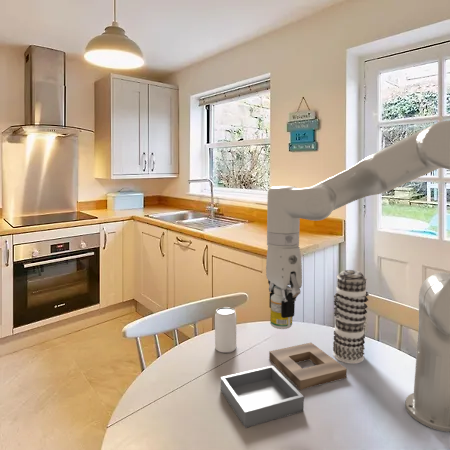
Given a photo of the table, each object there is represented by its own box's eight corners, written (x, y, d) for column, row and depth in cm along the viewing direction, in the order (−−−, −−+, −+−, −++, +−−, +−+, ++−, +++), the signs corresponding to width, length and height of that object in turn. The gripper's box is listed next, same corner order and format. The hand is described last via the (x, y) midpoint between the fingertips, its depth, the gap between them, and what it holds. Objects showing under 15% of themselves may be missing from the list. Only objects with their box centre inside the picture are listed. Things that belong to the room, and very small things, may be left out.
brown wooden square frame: (346, 377, 98) (346, 368, 97) (300, 390, 93) (300, 380, 92) (310, 350, 112) (311, 342, 112) (269, 359, 107) (269, 351, 107)
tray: (303, 411, 85) (303, 396, 84) (245, 427, 79) (245, 412, 79) (272, 378, 98) (272, 365, 97) (220, 390, 93) (220, 377, 92)
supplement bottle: (280, 331, 88) (281, 292, 87) (265, 323, 93) (266, 286, 91) (297, 326, 91) (298, 288, 90) (281, 318, 96) (282, 282, 94)
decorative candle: (370, 364, 104) (374, 277, 100) (336, 364, 104) (339, 277, 100) (359, 348, 113) (363, 267, 109) (328, 348, 113) (331, 267, 110)
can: (223, 341, 119) (222, 305, 117) (240, 347, 115) (240, 309, 113) (210, 349, 113) (210, 311, 112) (228, 355, 110) (228, 316, 108)
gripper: (317, 244, 82) (314, 323, 85) (280, 231, 98) (278, 298, 101) (286, 247, 79) (284, 328, 82) (253, 233, 95) (253, 302, 98)
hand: (281, 311), depth 91 cm, fingers closed on supplement bottle, 5 cm apart
